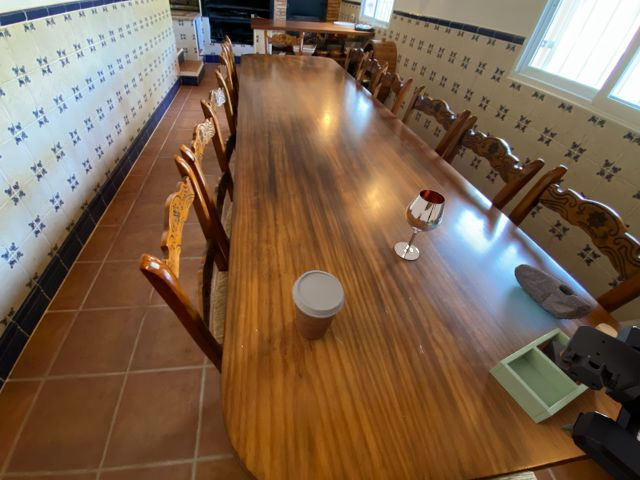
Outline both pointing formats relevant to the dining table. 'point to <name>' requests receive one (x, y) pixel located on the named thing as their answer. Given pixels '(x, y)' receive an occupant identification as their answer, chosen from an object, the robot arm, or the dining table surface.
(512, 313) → the dining table surface
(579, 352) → the robot arm
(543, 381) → the divided tray
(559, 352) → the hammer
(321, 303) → the disposable coffee cup
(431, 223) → the wineglass
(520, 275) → the perforated stone tool
